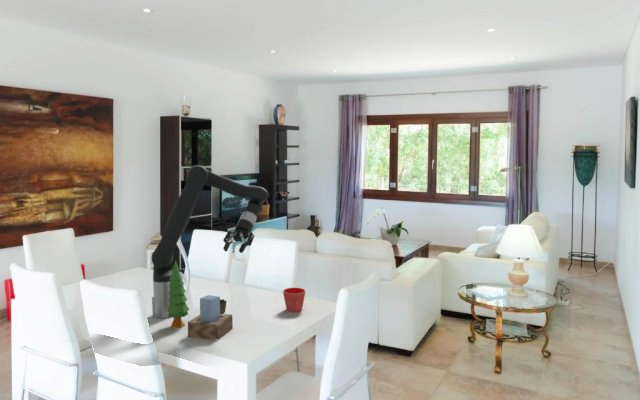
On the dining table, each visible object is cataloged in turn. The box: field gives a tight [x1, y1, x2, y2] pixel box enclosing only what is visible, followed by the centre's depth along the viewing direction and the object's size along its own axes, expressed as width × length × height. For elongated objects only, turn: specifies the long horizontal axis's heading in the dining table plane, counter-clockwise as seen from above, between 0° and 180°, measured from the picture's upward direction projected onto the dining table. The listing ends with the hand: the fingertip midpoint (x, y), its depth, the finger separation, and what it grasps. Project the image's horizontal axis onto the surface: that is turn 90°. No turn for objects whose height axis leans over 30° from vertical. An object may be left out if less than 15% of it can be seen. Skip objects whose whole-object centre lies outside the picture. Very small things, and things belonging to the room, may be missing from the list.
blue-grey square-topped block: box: [199, 294, 221, 322], centre depth 225 cm, size 6×6×10 cm
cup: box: [220, 298, 227, 314], centre depth 247 cm, size 8×7×8 cm
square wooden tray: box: [187, 313, 234, 341], centre depth 226 cm, size 14×14×7 cm
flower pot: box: [282, 287, 306, 313], centre depth 259 cm, size 11×11×10 cm
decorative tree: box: [167, 259, 190, 329], centre depth 234 cm, size 10×9×30 cm
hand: (232, 251), depth 239 cm, fingers open, 8 cm apart
